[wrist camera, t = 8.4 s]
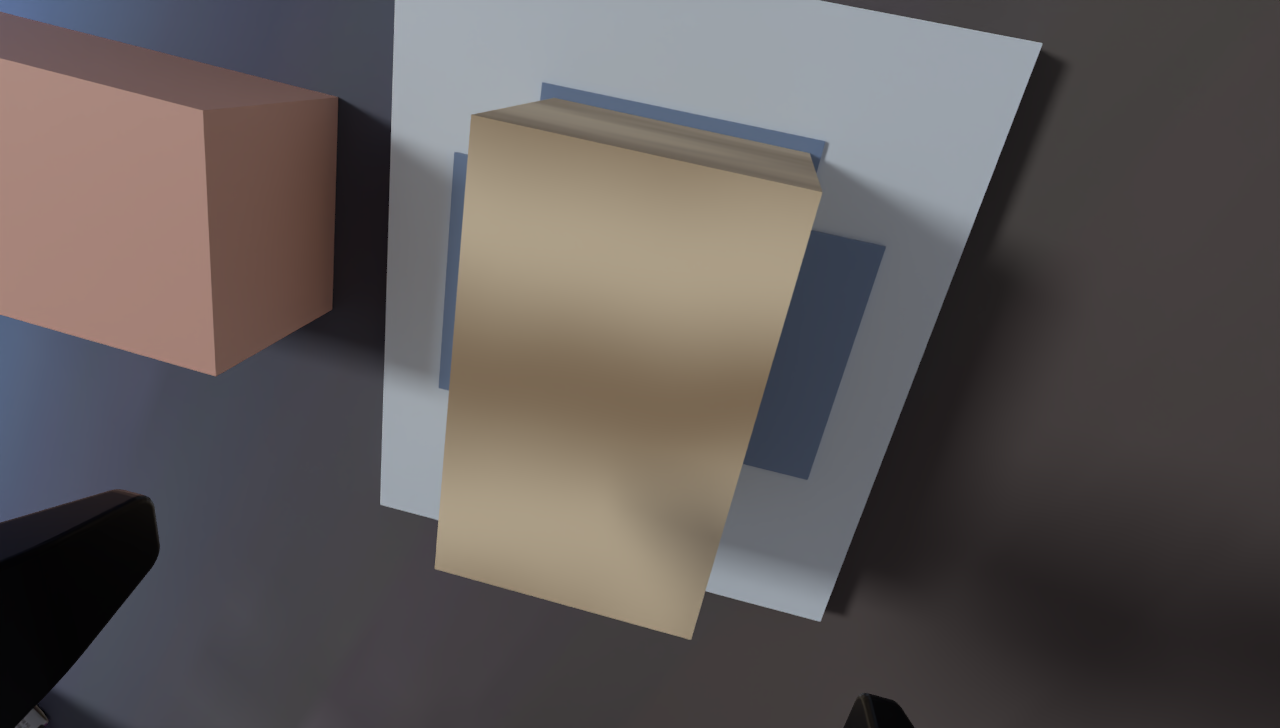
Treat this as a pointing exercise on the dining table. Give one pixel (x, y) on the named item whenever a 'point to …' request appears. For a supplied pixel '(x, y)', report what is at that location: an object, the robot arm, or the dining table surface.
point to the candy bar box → (34, 719)
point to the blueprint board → (749, 109)
